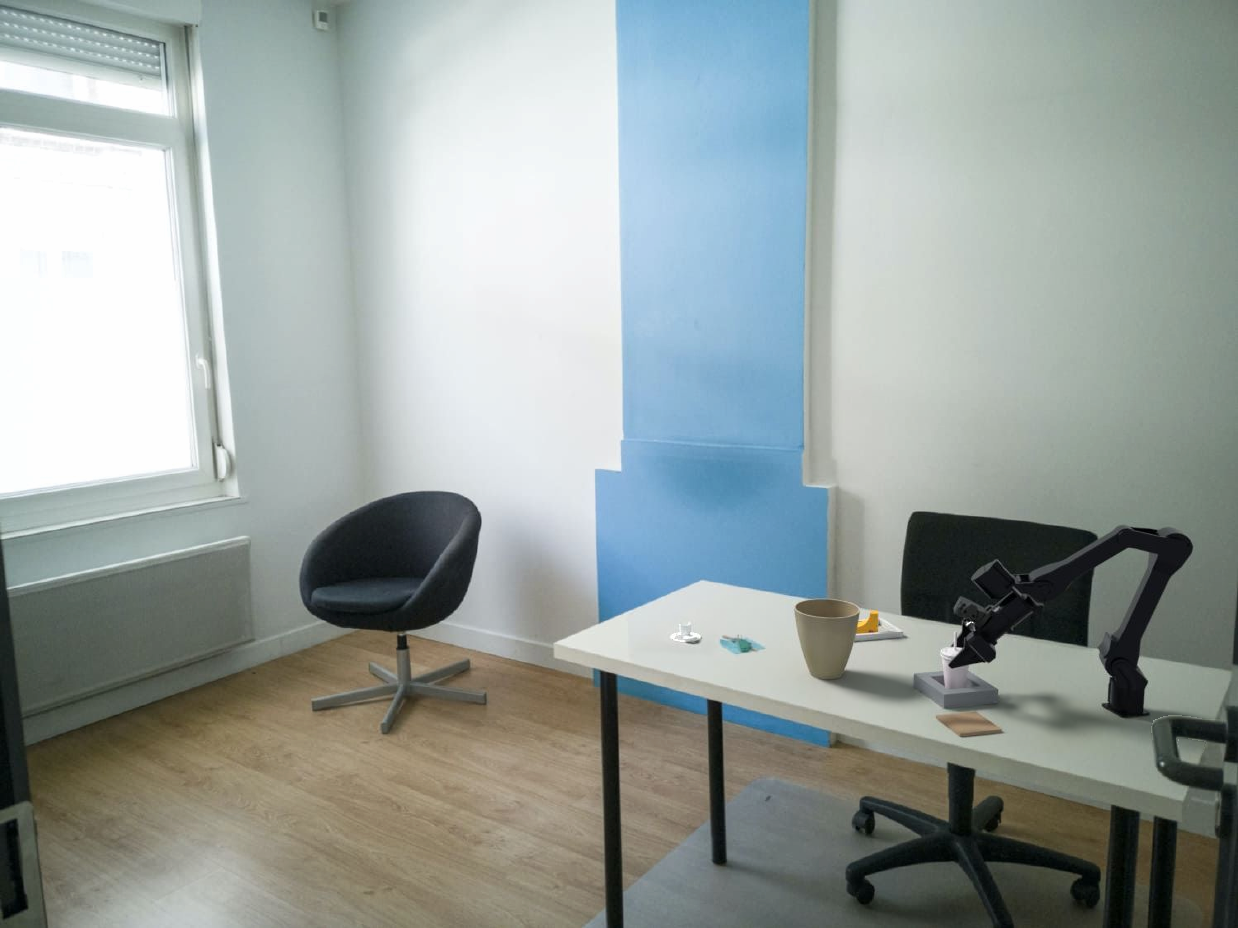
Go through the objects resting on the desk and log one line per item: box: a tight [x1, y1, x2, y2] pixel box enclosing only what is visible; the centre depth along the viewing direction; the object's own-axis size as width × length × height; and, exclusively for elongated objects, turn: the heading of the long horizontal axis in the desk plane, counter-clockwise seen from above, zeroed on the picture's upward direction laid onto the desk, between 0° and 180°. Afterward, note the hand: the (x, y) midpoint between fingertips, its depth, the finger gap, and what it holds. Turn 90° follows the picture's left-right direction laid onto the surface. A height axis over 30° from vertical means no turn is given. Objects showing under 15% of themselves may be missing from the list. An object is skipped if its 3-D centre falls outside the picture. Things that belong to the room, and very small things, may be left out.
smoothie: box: [939, 630, 970, 689], centre depth 198 cm, size 6×6×14 cm
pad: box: [935, 710, 1003, 737], centre depth 183 cm, size 9×9×1 cm
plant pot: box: [793, 598, 861, 680], centre depth 211 cm, size 15×15×16 cm
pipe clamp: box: [856, 610, 879, 634], centre depth 241 cm, size 12×4×6 cm, turn 72°
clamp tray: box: [854, 617, 904, 642], centre depth 242 cm, size 12×18×2 cm, turn 101°
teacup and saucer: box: [670, 621, 702, 643], centre depth 240 cm, size 9×8×4 cm
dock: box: [912, 670, 999, 709], centre depth 199 cm, size 13×13×3 cm
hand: (949, 660), depth 198 cm, fingers open, 8 cm apart
